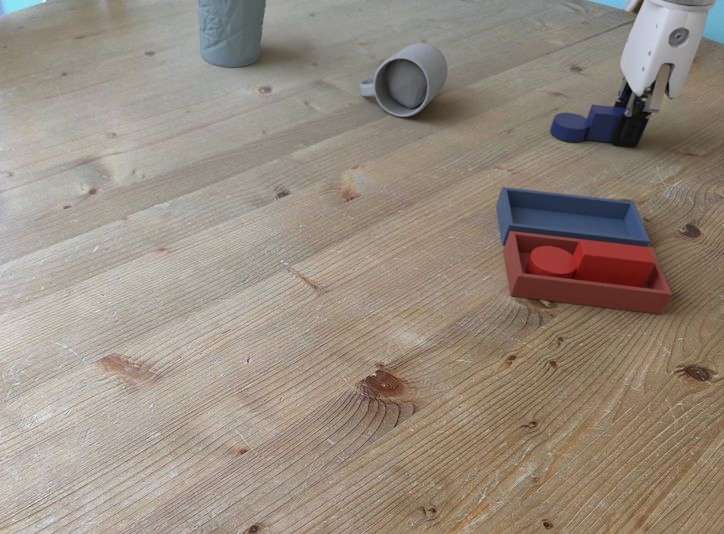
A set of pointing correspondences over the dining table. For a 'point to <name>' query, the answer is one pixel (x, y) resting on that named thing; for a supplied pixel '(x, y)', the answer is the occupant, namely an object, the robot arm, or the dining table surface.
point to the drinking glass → (230, 31)
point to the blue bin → (570, 217)
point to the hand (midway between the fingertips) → (620, 137)
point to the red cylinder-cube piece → (594, 263)
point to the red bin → (579, 291)
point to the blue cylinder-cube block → (588, 124)
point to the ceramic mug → (407, 80)
